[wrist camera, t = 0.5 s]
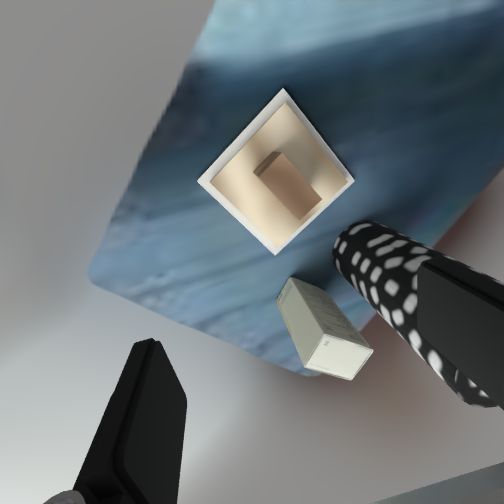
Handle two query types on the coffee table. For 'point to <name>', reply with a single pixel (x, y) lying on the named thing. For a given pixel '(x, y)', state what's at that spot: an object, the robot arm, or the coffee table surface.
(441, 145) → the coffee table surface
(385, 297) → the spotted tube
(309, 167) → the lid
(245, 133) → the mat
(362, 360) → the skincare box
